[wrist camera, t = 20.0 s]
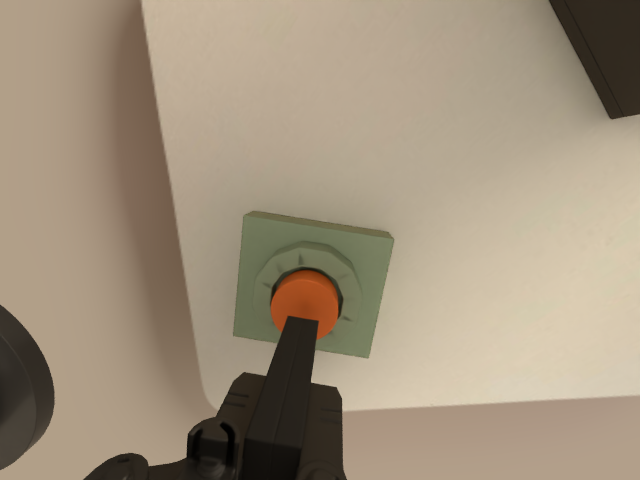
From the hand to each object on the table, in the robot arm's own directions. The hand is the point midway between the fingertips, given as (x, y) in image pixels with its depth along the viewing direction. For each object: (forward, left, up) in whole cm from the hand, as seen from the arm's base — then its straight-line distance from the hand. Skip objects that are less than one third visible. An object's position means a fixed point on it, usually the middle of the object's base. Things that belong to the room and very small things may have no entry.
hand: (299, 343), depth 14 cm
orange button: (0, 0, -5) cm, 5 cm away
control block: (0, 0, -9) cm, 9 cm away
